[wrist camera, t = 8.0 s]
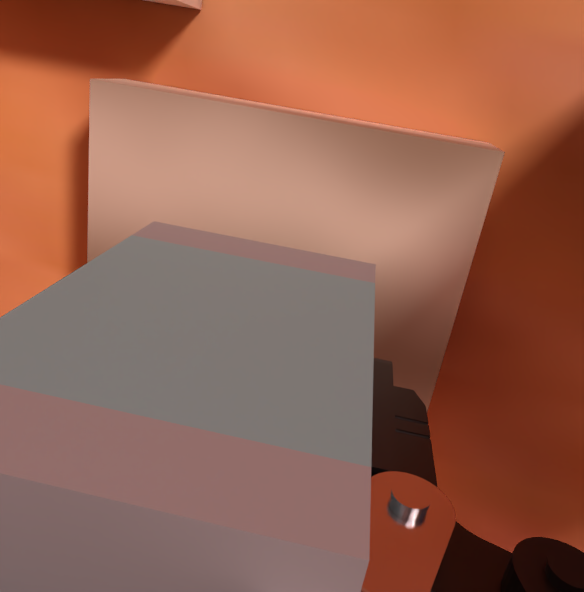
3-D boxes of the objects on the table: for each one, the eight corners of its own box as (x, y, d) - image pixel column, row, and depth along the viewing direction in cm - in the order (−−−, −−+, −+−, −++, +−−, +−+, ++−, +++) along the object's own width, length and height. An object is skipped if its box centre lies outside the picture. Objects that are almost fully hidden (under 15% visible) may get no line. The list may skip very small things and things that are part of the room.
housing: (153, 221, 12) (-181, 430, 5) (375, 264, 12) (370, 560, 5) (142, 408, 14) (-112, 760, 7) (333, 450, 14) (281, 871, 6)
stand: (124, 78, 15) (89, 78, 13) (488, 142, 15) (504, 151, 13) (113, 386, 19) (85, 419, 17) (401, 449, 18) (403, 491, 16)
